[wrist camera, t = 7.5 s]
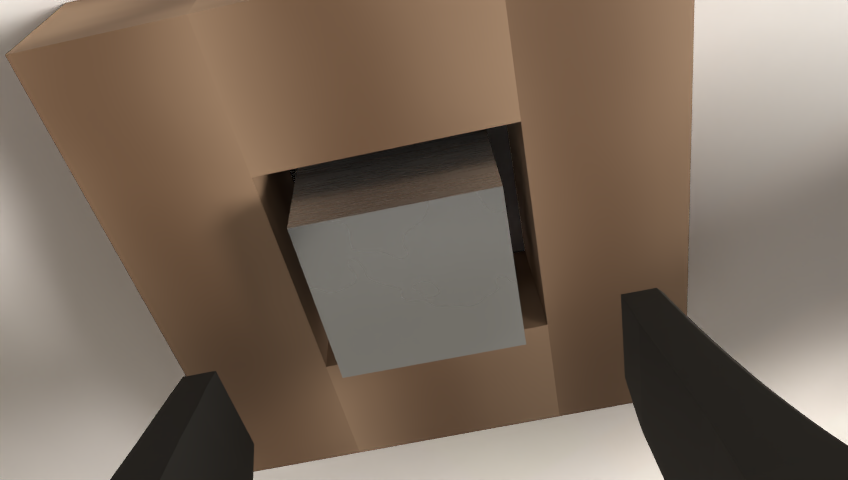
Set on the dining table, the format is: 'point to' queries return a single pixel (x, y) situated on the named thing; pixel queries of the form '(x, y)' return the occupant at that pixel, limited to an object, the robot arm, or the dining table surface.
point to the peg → (408, 253)
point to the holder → (360, 134)
